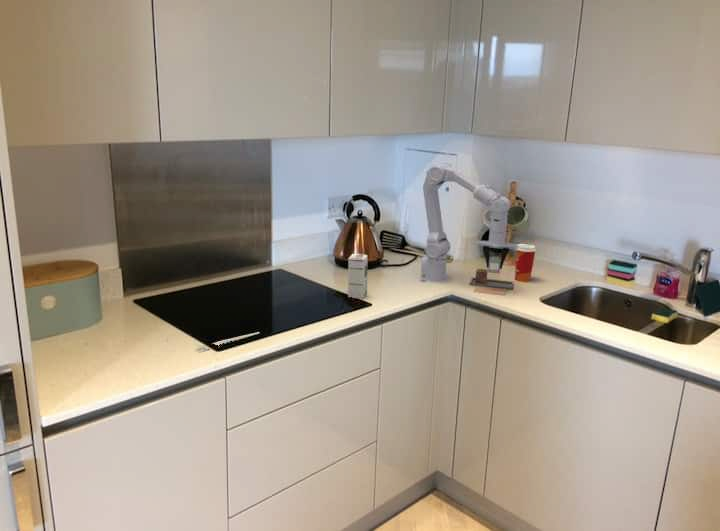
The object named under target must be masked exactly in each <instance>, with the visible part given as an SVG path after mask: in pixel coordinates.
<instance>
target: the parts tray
mask: <svg viewBox="0 0 720 531" xmlns="http://www.w3.org/2000/svg"><path fill="white" fill-rule="evenodd" d="M475 278H476V277H473V276H472V277H471V278H470V282H469V286H473V287H474V286H483V287H491V288H500V289H506V290H510V291H513V288H514V281H507V280H500V279H491V278H487V283H486V284H479V283H475Z"/></svg>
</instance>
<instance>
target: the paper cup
mask: <svg viewBox="0 0 720 531" xmlns="http://www.w3.org/2000/svg"><path fill="white" fill-rule="evenodd" d="M517 244H518V243H517ZM536 252H537V249H536V246H535V245H534V244H529V243H528V244H527V243H519V244H518V245H517V251H515V265H514V266H515V271H514V280H515V281H517V282H521V283H529V282H530V281H531V277H532V272H533V271H532V270H533V266H534V260H535V254H536Z"/></svg>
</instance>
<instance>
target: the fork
mask: <svg viewBox="0 0 720 531" xmlns="http://www.w3.org/2000/svg"><path fill="white" fill-rule="evenodd" d="M258 334H260V332H259V331H257V332H254V333H249V334H244V335H240V336H236V337H232V338H228V339H227V338H226V339H222V340H219V341H215V342H213V343H212V344H215V345H218V346H219V345H220V344H221V345H224V344H228V343H231V342H230V341H232V342H236V341H239V340H241V339H244V338H248V337H251V336H255V335H258ZM235 340H236V341H235ZM227 342H228V343H227ZM223 343H224V344H223ZM195 345H196V346H198V347H199V348H201V349H204V350H208V349H210V348H208V347H205V345H201V344H197V343H196V344H195ZM221 345H220V346H221ZM220 346H219V347H220ZM208 351H209V350H208Z"/></svg>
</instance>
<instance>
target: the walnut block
mask: <svg viewBox="0 0 720 531" xmlns="http://www.w3.org/2000/svg"><path fill="white" fill-rule="evenodd" d="M488 274H489V273H488V269H485V268H484V269H483V268H476V270H475V277H474V278H475V283H479V284H486V283H487V279H488Z"/></svg>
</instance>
